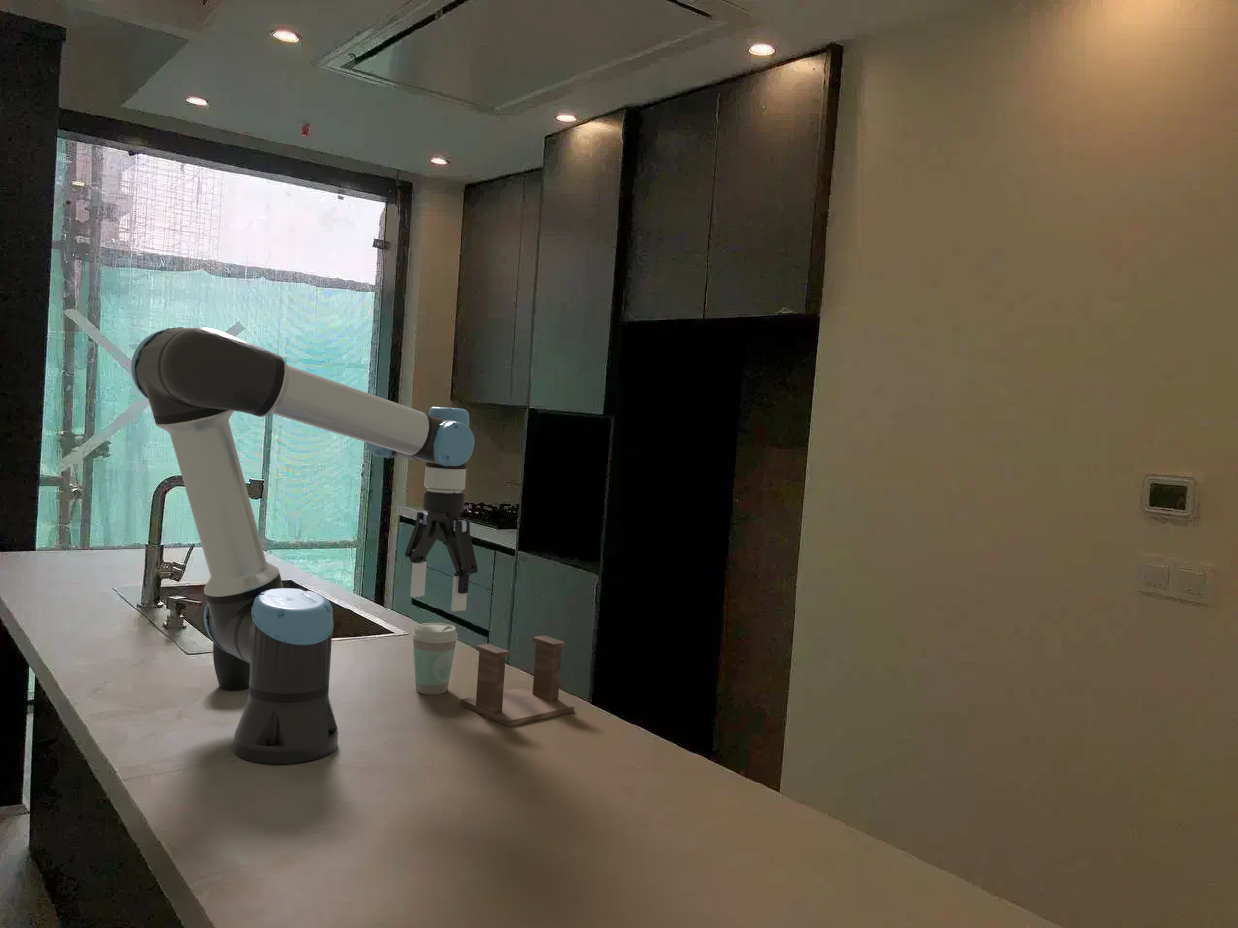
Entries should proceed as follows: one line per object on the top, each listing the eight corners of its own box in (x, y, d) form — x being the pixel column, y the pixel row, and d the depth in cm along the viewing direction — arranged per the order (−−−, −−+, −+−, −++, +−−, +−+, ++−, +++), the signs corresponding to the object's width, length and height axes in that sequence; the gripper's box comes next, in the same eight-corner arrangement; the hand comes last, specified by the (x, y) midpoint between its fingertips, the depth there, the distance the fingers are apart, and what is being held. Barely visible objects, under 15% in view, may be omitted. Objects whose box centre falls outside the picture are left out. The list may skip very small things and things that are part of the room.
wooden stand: (506, 726, 166) (511, 658, 165) (458, 704, 176) (462, 640, 175) (575, 711, 177) (580, 647, 176) (526, 691, 187) (531, 630, 186)
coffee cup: (429, 699, 178) (433, 635, 177) (398, 689, 183) (402, 625, 182) (464, 691, 185) (468, 628, 184) (433, 680, 190) (437, 619, 189)
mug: (287, 685, 180) (289, 634, 180) (223, 695, 172) (226, 642, 171) (266, 674, 186) (268, 625, 186) (203, 684, 177) (205, 632, 177)
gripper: (501, 498, 175) (494, 614, 177) (424, 483, 193) (417, 589, 194) (467, 498, 170) (459, 618, 171) (391, 483, 188) (384, 592, 189)
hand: (437, 603), depth 183 cm, fingers open, 13 cm apart
